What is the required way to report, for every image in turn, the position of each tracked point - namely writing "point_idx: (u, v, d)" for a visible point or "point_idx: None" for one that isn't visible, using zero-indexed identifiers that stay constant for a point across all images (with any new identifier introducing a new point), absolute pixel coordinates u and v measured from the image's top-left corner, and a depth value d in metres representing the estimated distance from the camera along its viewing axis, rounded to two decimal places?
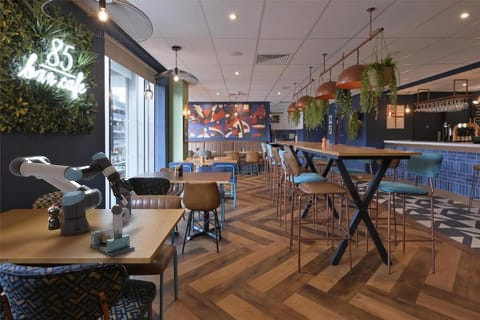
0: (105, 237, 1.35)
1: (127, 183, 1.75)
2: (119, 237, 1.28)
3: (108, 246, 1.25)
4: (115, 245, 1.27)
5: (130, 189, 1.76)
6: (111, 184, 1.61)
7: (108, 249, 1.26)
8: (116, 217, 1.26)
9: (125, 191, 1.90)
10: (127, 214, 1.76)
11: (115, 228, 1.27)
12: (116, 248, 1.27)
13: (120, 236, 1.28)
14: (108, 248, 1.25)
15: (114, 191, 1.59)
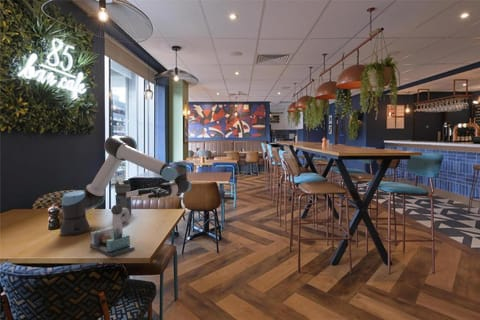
0: (105, 237, 1.35)
1: None
2: (119, 237, 1.28)
3: (108, 246, 1.25)
4: (115, 245, 1.27)
5: (138, 191, 1.47)
6: (166, 192, 1.44)
7: (108, 249, 1.26)
8: (116, 217, 1.26)
9: (125, 191, 1.90)
10: (127, 214, 1.76)
11: (115, 228, 1.27)
12: (116, 248, 1.27)
13: (120, 236, 1.28)
14: (108, 248, 1.25)
15: (161, 194, 1.39)
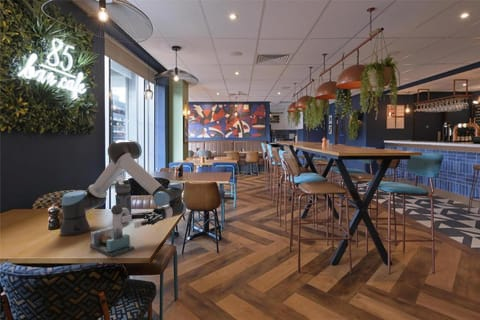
0: (105, 237, 1.35)
1: None
2: (119, 237, 1.28)
3: (108, 246, 1.25)
4: (115, 245, 1.27)
5: None
6: (160, 217, 1.41)
7: (108, 249, 1.26)
8: (116, 217, 1.26)
9: (125, 191, 1.90)
10: (127, 214, 1.76)
11: (115, 228, 1.27)
12: (116, 248, 1.27)
13: (120, 236, 1.28)
14: (108, 248, 1.25)
15: (155, 221, 1.35)
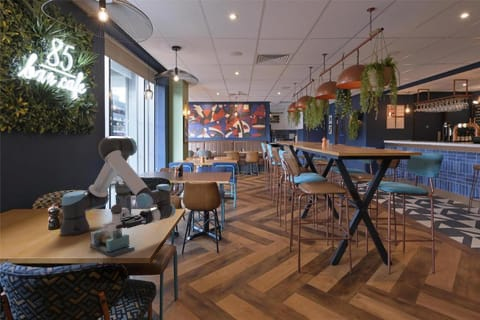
0: (105, 237, 1.35)
1: None
2: (118, 237, 1.28)
3: (107, 246, 1.26)
4: (114, 244, 1.27)
5: None
6: (142, 221, 1.33)
7: (107, 249, 1.26)
8: (115, 217, 1.27)
9: (125, 191, 1.90)
10: (127, 214, 1.76)
11: None
12: (115, 248, 1.27)
13: (119, 236, 1.28)
14: (107, 248, 1.26)
15: (132, 224, 1.29)
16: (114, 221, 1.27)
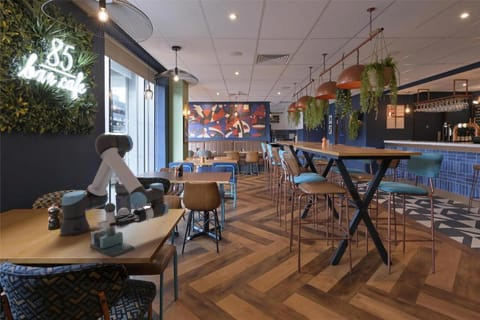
0: None
1: None
2: (112, 234, 1.32)
3: (101, 243, 1.29)
4: (108, 242, 1.30)
5: None
6: (135, 219, 1.37)
7: (101, 246, 1.29)
8: (109, 215, 1.30)
9: (125, 191, 1.90)
10: None
11: None
12: (109, 245, 1.31)
13: (113, 233, 1.32)
14: (101, 245, 1.29)
15: (125, 222, 1.33)
16: (108, 219, 1.31)
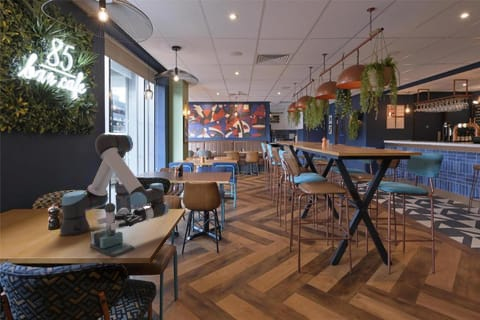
0: None
1: None
2: (112, 234, 1.32)
3: (101, 243, 1.29)
4: (108, 242, 1.30)
5: None
6: (139, 219, 1.38)
7: (101, 246, 1.29)
8: (109, 215, 1.30)
9: (125, 191, 1.90)
10: None
11: (108, 225, 1.31)
12: (109, 245, 1.31)
13: (113, 233, 1.32)
14: (101, 245, 1.29)
15: (133, 222, 1.33)
16: (108, 219, 1.31)
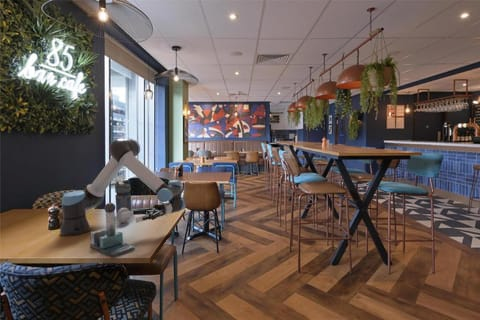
0: None
1: None
2: (112, 234, 1.32)
3: (101, 243, 1.29)
4: (108, 242, 1.30)
5: (133, 211, 1.51)
6: (160, 213, 1.48)
7: (101, 246, 1.29)
8: (109, 215, 1.30)
9: (125, 191, 1.90)
10: None
11: (108, 225, 1.31)
12: (109, 245, 1.31)
13: (113, 233, 1.32)
14: (101, 245, 1.29)
15: (155, 216, 1.43)
16: (108, 219, 1.31)
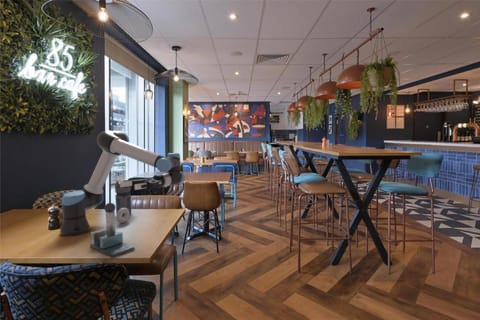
0: None
1: None
2: (112, 234, 1.32)
3: (101, 243, 1.29)
4: (108, 242, 1.30)
5: (132, 182, 1.50)
6: (159, 183, 1.47)
7: (101, 246, 1.29)
8: (109, 215, 1.30)
9: (125, 191, 1.90)
10: (127, 214, 1.76)
11: (108, 225, 1.31)
12: (109, 245, 1.31)
13: (113, 233, 1.32)
14: (101, 245, 1.29)
15: (154, 185, 1.42)
16: (108, 219, 1.31)
